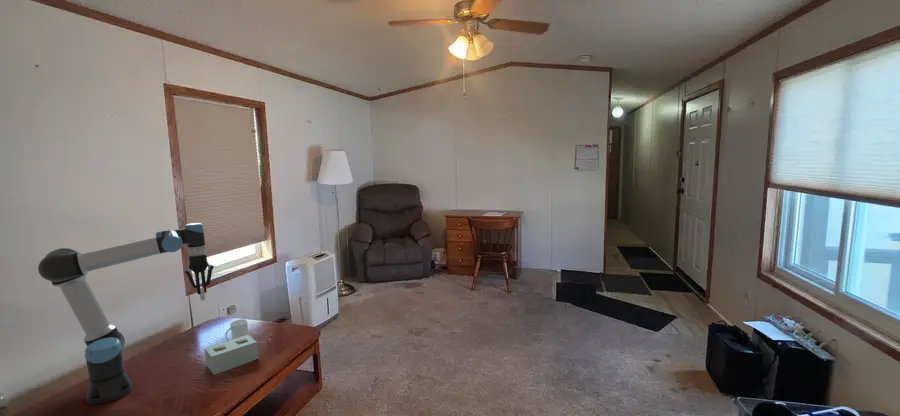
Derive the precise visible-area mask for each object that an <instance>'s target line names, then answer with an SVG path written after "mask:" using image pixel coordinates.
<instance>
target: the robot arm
mask: <svg viewBox="0 0 900 416" xmlns="http://www.w3.org/2000/svg"><path fill="white" fill-rule="evenodd" d="M205 238H206V237H205V230H204V225H203V223H201V222H191V223H187V224H185V226H184V228H181V229H171V230H162V231H161V230H160V231H156V233H155V237H153V238H148V239H144V240H139V241H135V242H134V241H133V242H130V243H125V244H121V245H117V246H113V247H108V248H104V249H99V250H94V251H90V252H86V253H82V252H80V251H77V250H75V249H72V248H70V247H69V248H67V247H61V248H57V249H54V250H52V251H51V250H50V252H49V253H47V254H46V256H45V257H44V258H42V260H41V261H40V262H39V263H38V267H37V268H38V269H37V270H38V274H39V275H40V277H42V279H45V280H47V281H49V282H50V283H51V284H52V286H54V287H58V288H60V290H61V291H62V293H63V295H64V297H65V299H66V301H67V302H68V305H69V306H70V308H71V310H72V312H73V313H74V316H75V318H76V319H77V321H78V323H79V324H80V327H81V328H82V330H83V331H84V333H85V336H84V337H83V341H84V343H85V345H86V348H85V349H84V357H85V358H84V359H85V360H86V367H87V372H88V373H87V374H88V378H89V379H88V380H89V386H88V389H87V392H86V403H87V404H89V405H102V404H103V405H104V404H108V403H110V402H114V401H117V400H118V399H121V398H123V397H125V396H127V395H128V394H129V393H130V392H131V391H132V389H133V382H132V380H131V379H130V377H129V376H128V374H127V373H126V371H125V365H124V364H125V363H124V357H123V356H124V347H125V345H126V344H125V343H126V340H125V337H124V334H123V333H121V331H119V329H118V328H117V326H116V325H115V324H112V323H110V322H109V320H108V318H107V316H106V315H105V313H104V311H103V309H102V307H101V305H100V304H99V302H98V300H97V297H96V296H95V294H94V291H93V290H92V288H91V287H90V285H89V282H88V281H87V278H86V277H87V275H88V273H89V272H91V271H95V270H101V269H105V268H108V267H112V266H117V265H120V264H124V263H128V262H132V261H136V260H139V259H144V258H149V257H153V256H156V255H160V254H166V253H176V252H177V251H179V250H181V248H182V246H183V245H187V254H188V262H189V265H188V268H187V269H184V270H183V272H184V274H186V276H187V279H188V281H189V282H190V284H191V287H192V288H193V289H196V293H197V295H199V299H200V301H205V300H206V297H205V294H207V286H209V285H210V284H211V279H212V275H213V274H212V272H213V270H214V268H215V266H214V265H213V264H209V262H208V258H207V249H206V248H207V247H206V240H205ZM206 270H207V275H206ZM191 271H192V272H193V273H194V279H195V281H194V279H193V276H192V274H191ZM200 279H201V281H200Z"/></svg>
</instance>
